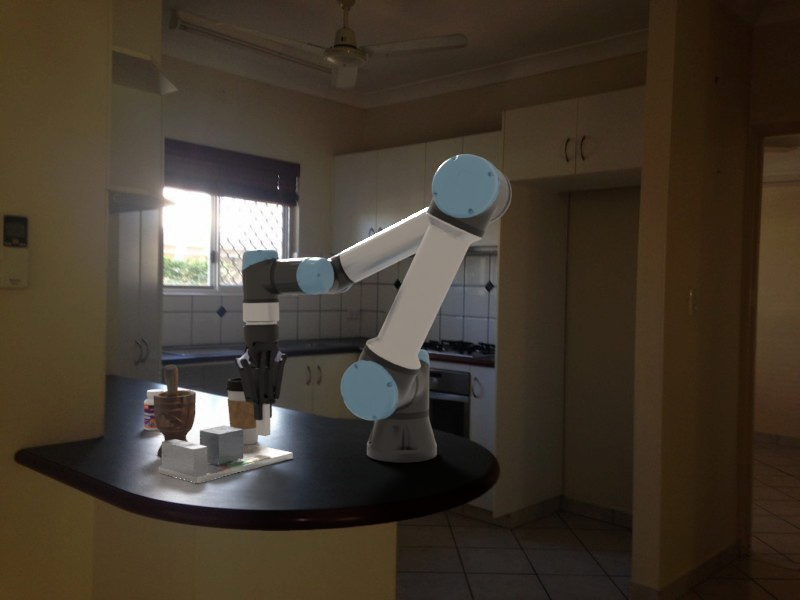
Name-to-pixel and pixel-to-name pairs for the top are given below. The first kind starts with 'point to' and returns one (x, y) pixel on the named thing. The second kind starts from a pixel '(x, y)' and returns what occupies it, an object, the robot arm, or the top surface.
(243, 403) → the coffee cup
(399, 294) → the robot arm
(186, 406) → the mortar and pestle
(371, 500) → the top surface
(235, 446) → the grey rectangular block
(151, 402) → the pill bottle
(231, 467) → the gauge base
